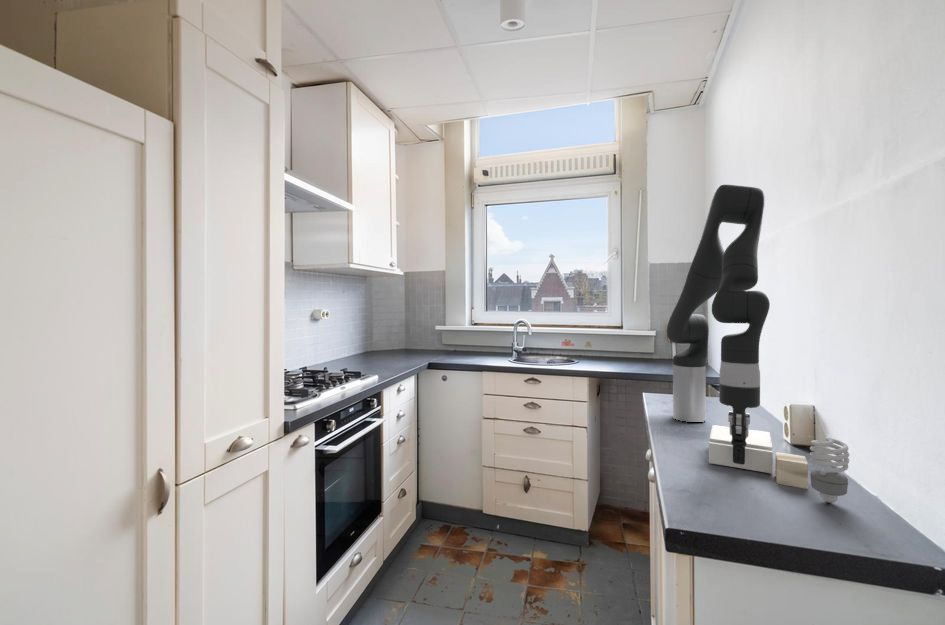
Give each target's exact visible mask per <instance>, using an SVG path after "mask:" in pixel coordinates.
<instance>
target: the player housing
mask: <svg viewBox="0 0 945 625" xmlns="http://www.w3.org/2000/svg"><path fill="white" fill-rule="evenodd" d="M710 430H711V431H710V434H709V438H708V439H709V440H708V443H709V442H715V443H722V444H729V445H732V443H731V440H732V436H731V435H730V426H723V425H714V424H712V428H711V429H710ZM746 447H749V448H756V449H763V450H770V451H773V443H772V438H771V432H770V431H763V430H757V429H749V428H748V437H747V438H746Z"/></svg>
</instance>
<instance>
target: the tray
mask: <svg viewBox="0 0 945 625" xmlns="http://www.w3.org/2000/svg"><path fill="white" fill-rule="evenodd" d="M773 454H774V453H773V450H772V451H770V450H763V449H756V448H749V447H745V464H743V465H742V464H736V463H734V462H733V446H732V445H729V444H722V443H715V442H709V441H708V464H713V465H720V466H725V467H730V468H731V467H732V468H738V469H742V470H743V469H745V470H748V471H749V470H750V471H755V472H761V473H767V474H773V473H774V472H773V471H774V470H773V469H774V468H773V467H774V464H773V462H774V461H773V460H774V457H773V456H774V455H773Z"/></svg>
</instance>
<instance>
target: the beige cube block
mask: <svg viewBox="0 0 945 625" xmlns="http://www.w3.org/2000/svg"><path fill="white" fill-rule="evenodd" d="M808 463H809V462H808V460H807V458H806V456H805V455H799V454H792V453H786V452H785V453H784V452H777V451H776V452H775V465H774V466H775V467H774V468H775V475H774V476H775V482H776V484H777V485H782V486H786V487H787V486H789V487H794V488H799V489H805V490H808V489H809V485H808V484H809V464H808Z"/></svg>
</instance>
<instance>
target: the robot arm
mask: <svg viewBox="0 0 945 625" xmlns="http://www.w3.org/2000/svg"><path fill="white" fill-rule="evenodd" d="M765 201H766V200H765V193H764V190H763V189H761V188H759V187H755V186H744V185H734V184H722V185H719V187H718V188H716V190H715V192H714V194H713V197H712V199H711V202H710V206H709V210H708V213H707V217H706V220H705V225H704V226H703V232H702V235H701V239H700V240H699V242H698V243H699V244H698V247H697V249H696V251H695V254H694V257H693V259H692V262H691V264H690V267H689V270H688V272H687V276H686V280H685V283H684V285H683V288H682V291H681V294H680V296H679V299H678V300H677V303H676V305H675V307H674V309H673V311H672V312H671V315H670V317H669V320H668V323H667V328H666V335H667V338H668V340H669V341H670V343H673V344H685V345H687V344H688V345H689V347H688V348H687V349H686V350H685V351H683V352H680V353H677V354H675V355H674V356H673V357H672V358H673V359H672V369H673V370H672V419H673V420H675V419H676V420H675V421H678V420H680V421H679V422H682V421H686V422H685V423H687V422H703V423H705V422H706V417H707V415H706V410H707V407H706V405H707V404H706V402H707V400H706V399H707V398H706V395H707V394H706V390H707V389H706V388H707V387H706V386H707V383H706V382H707V381H706V377H707V376H706V375H707V374H706V370H707V367H706V365H707V358H708V347H709V334H710V333H709V332H710V330H709V328H710V327H709V321H708V320H707V317H706V316H705V315H703V314H698V313H695V314H694V312H695V311H696V310H697V308H700V306H702V305H703V304H704V303H705V302H707V301H708V300H709V299H710V298H712V297H713V296H714V298H713V300H712V304H711V314H712V316H713V318H714V320H716V321H717V322H719V323H723V324H748V327H747V329H746V330H744V331H743V332H737V333H733V334H732V333H731V334H725V335H724V336H722V337H721V340H720V366H719V367H720V368H719V377H718V378H719V387H718V388H719V390H718V391H719V397H718V398H719V399H718V401H719V403H721V405H725V406H727V407H728V406H730V407H732V411H731V410H729V411H728V414H727V415H728V419H727V421H728V422H729V427H730V435H731V436H732V440H731V443H732V446H733V462H734V463H736V464H742V465H743V464H745V447H746V438H747V437H748V429H749V425H750V423H751V416H750V415H751V414H750V413H748V412H747V413H746V409H748V408H749V409H755V408H759V407H760V406H761V369H760V364H759V362H760V341H761V334H762V331H763V328H764V325H765V322H766V319H767V317H768V314H769V311H770V306H771V305H770V299H769V297H768V296H767V294H766V293H764V292H763V291H760V290H752V289H753V288H755V286H756V285H757V284H758V281H759V273H758V272H759V268H758V266H759V265H758V250H759V241H760V238H761V232H762V227H763V226H762V224H763V217H764V209H765ZM722 223H727V224H735V225H736V224H737V225H744V229H743V230H742V231H741V233H740V234H738V235H737V237H736V238H735V239H734V240H733V241H731V243H730V244H729V245H727V247H726V249H725V250H724V247H723V244H722V241H721V236H720V226H721V224H722ZM704 421H705V422H704Z"/></svg>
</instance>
